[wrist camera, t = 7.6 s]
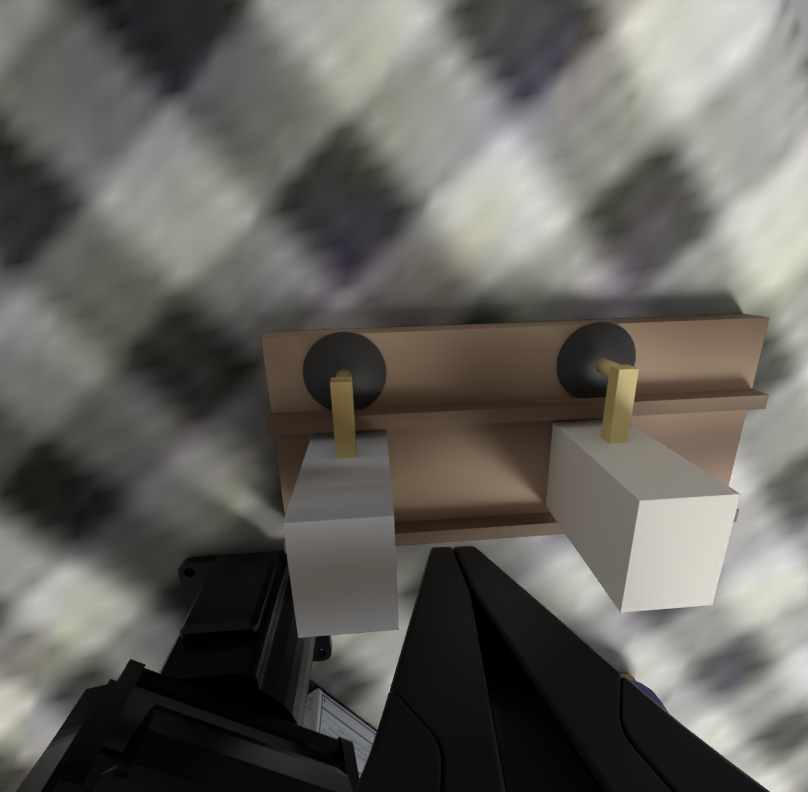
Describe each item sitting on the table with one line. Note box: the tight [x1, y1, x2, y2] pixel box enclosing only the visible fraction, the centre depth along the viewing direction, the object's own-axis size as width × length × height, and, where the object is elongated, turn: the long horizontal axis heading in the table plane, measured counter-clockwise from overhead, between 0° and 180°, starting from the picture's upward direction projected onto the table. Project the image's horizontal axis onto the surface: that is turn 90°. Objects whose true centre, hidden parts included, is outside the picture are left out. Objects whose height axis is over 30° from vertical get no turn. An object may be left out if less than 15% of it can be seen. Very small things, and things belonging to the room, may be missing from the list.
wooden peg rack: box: [261, 314, 769, 638], centre depth 15 cm, size 9×20×7 cm, turn 91°
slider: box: [545, 358, 740, 612], centre depth 15 cm, size 7×3×6 cm, turn 1°
